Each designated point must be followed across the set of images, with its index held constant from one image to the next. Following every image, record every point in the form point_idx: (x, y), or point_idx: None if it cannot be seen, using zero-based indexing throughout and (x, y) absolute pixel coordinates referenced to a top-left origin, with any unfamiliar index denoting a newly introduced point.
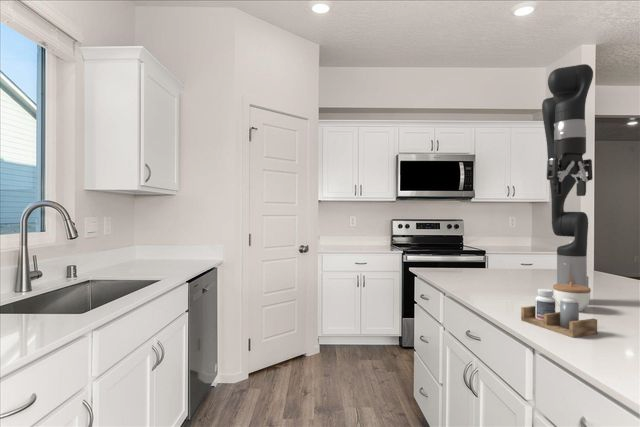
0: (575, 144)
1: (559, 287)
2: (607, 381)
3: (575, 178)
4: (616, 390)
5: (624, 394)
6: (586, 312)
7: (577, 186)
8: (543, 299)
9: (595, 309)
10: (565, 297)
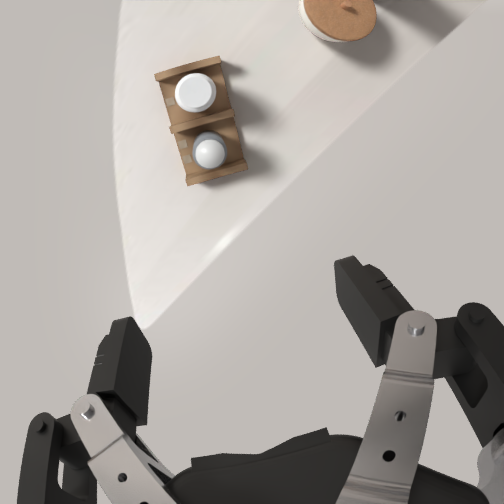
0: None
1: (308, 5)
2: (138, 310)
3: (388, 361)
4: None
5: None
6: None
7: (366, 307)
8: (181, 106)
9: None
10: (210, 140)
